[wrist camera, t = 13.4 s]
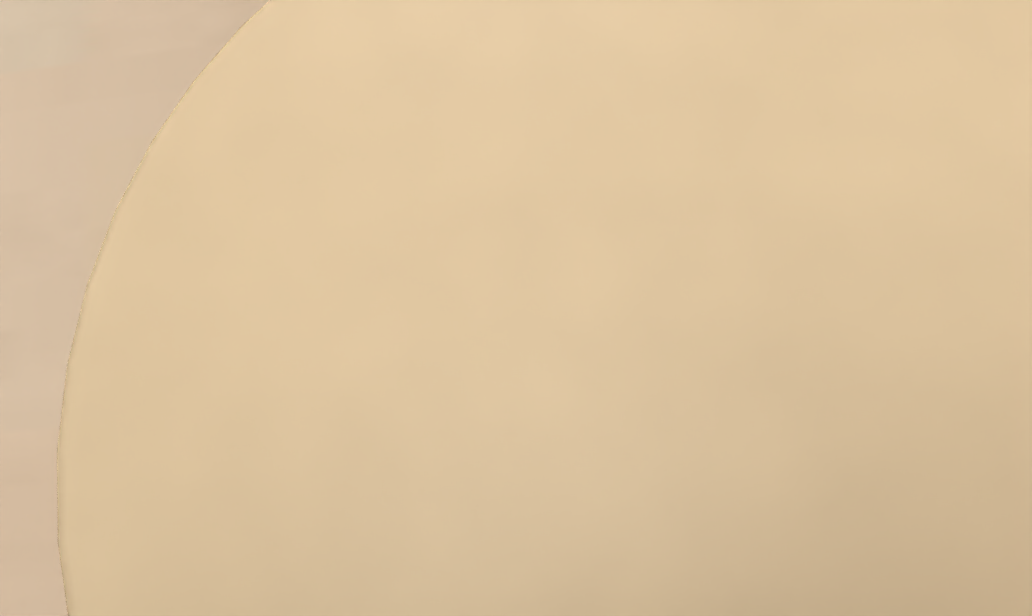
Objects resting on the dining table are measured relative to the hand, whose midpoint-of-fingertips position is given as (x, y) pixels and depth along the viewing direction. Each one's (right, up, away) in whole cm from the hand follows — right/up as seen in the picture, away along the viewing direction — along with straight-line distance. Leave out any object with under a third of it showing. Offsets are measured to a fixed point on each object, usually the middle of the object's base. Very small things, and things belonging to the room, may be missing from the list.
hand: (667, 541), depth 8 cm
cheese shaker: (0, -2, +8) cm, 8 cm away
